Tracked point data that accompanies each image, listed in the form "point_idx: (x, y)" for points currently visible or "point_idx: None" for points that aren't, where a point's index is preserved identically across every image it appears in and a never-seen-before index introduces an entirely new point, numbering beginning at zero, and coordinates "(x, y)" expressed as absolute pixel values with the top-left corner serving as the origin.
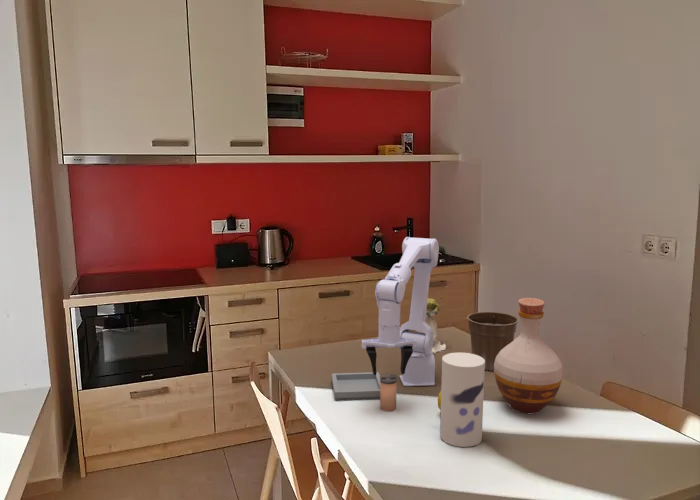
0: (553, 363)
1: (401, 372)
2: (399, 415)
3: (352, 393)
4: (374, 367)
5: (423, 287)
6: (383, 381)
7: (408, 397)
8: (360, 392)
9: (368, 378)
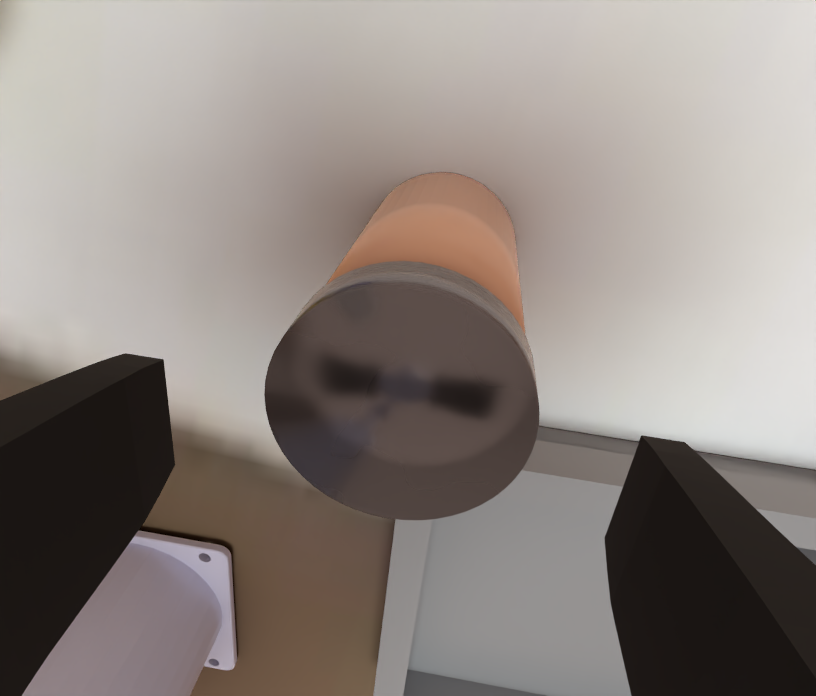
0: None
1: (164, 412)
2: (378, 63)
3: None
4: (755, 539)
5: None
6: (511, 327)
7: (228, 391)
8: None
9: (452, 682)
